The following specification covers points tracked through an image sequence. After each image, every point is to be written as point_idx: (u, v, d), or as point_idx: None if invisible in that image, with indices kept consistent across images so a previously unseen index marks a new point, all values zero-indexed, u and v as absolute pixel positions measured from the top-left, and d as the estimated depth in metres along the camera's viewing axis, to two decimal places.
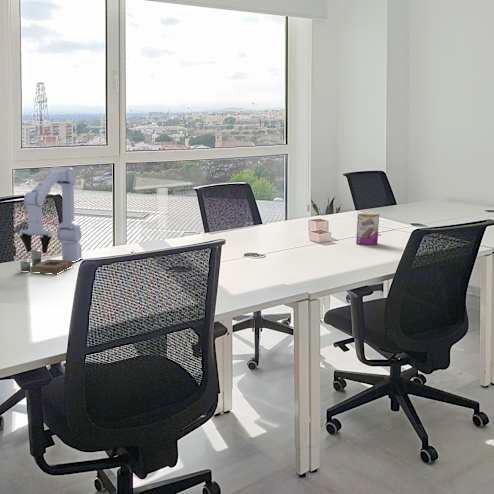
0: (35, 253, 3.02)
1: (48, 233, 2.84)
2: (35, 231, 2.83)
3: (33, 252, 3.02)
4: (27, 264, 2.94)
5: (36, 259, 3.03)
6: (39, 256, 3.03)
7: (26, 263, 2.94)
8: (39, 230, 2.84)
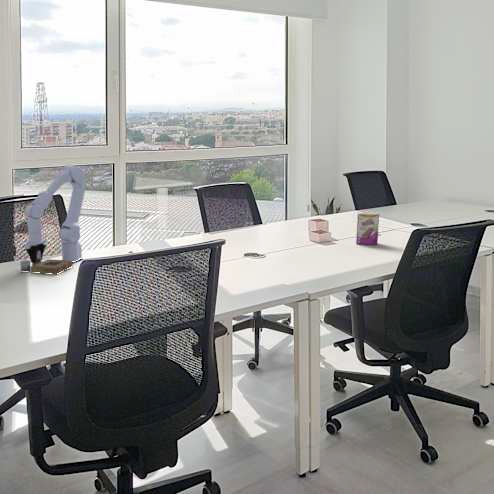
0: None
1: None
2: None
3: None
4: (27, 264, 2.94)
5: None
6: (39, 256, 3.03)
7: (26, 263, 2.94)
8: (30, 241, 3.00)
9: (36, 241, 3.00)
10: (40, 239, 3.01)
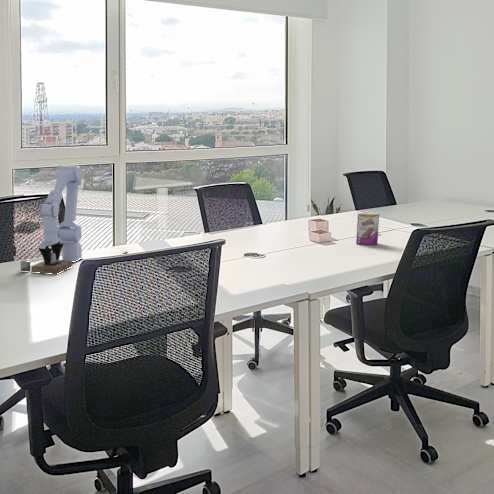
0: None
1: None
2: (43, 240, 2.95)
3: None
4: (27, 264, 2.94)
5: (51, 263, 2.96)
6: (54, 259, 2.97)
7: (26, 263, 2.94)
8: (45, 240, 2.94)
9: (52, 241, 2.94)
10: (56, 239, 2.95)
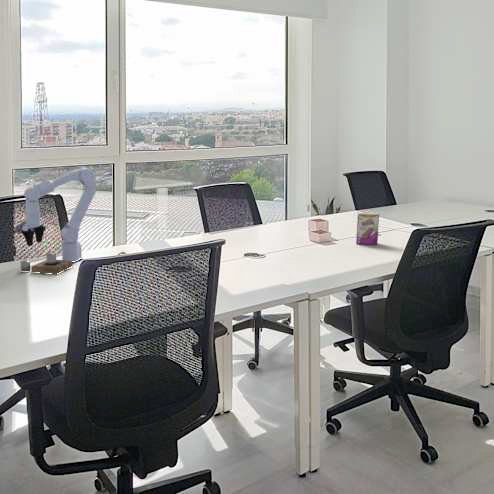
0: (50, 256, 2.96)
1: None
2: (26, 223, 3.05)
3: (48, 255, 2.96)
4: (27, 264, 2.94)
5: (51, 263, 2.96)
6: (54, 259, 2.97)
7: (26, 263, 2.94)
8: (28, 223, 3.03)
9: (34, 224, 3.03)
10: (38, 222, 3.04)
